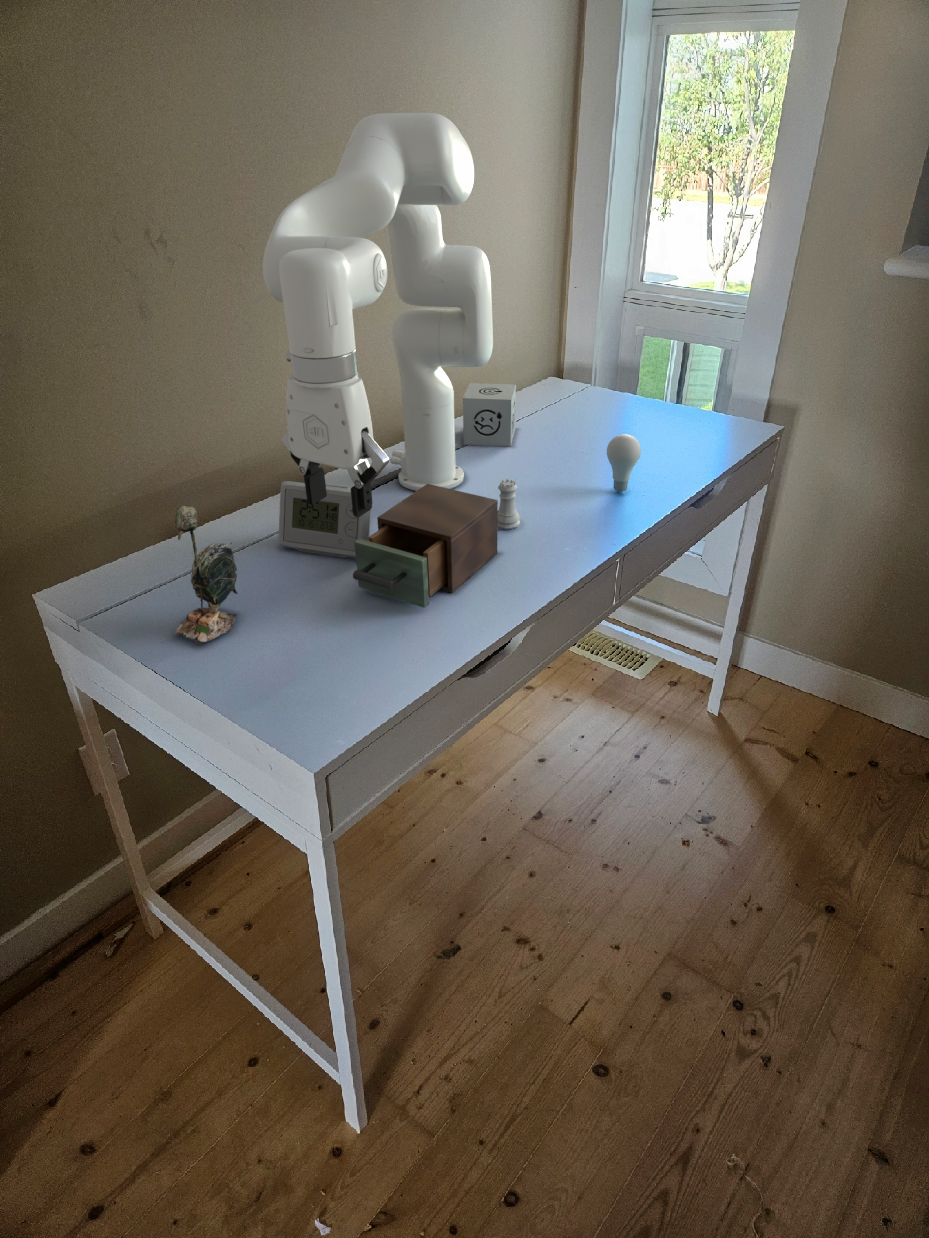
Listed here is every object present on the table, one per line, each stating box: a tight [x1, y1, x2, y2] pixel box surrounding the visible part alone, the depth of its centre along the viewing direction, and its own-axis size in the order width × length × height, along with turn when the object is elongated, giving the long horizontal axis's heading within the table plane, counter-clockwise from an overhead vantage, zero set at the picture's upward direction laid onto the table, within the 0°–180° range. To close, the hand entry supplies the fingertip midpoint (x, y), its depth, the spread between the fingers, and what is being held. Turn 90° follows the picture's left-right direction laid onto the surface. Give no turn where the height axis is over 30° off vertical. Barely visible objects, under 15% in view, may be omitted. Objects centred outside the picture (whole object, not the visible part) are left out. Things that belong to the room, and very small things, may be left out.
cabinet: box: [376, 484, 499, 594], centre depth 130 cm, size 14×13×10 cm
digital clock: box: [278, 480, 372, 559], centre depth 135 cm, size 16×9×11 cm, turn 60°
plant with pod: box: [174, 505, 239, 645], centre depth 113 cm, size 8×11×20 cm
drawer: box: [352, 525, 448, 609], centre depth 123 cm, size 17×12×8 cm
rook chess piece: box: [497, 478, 521, 531], centre depth 141 cm, size 4×4×8 cm
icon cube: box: [462, 382, 517, 447], centre depth 176 cm, size 10×10×10 cm
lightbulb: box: [606, 433, 642, 493], centre depth 151 cm, size 6×6×11 cm
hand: (339, 505), depth 105 cm, fingers open, 6 cm apart
